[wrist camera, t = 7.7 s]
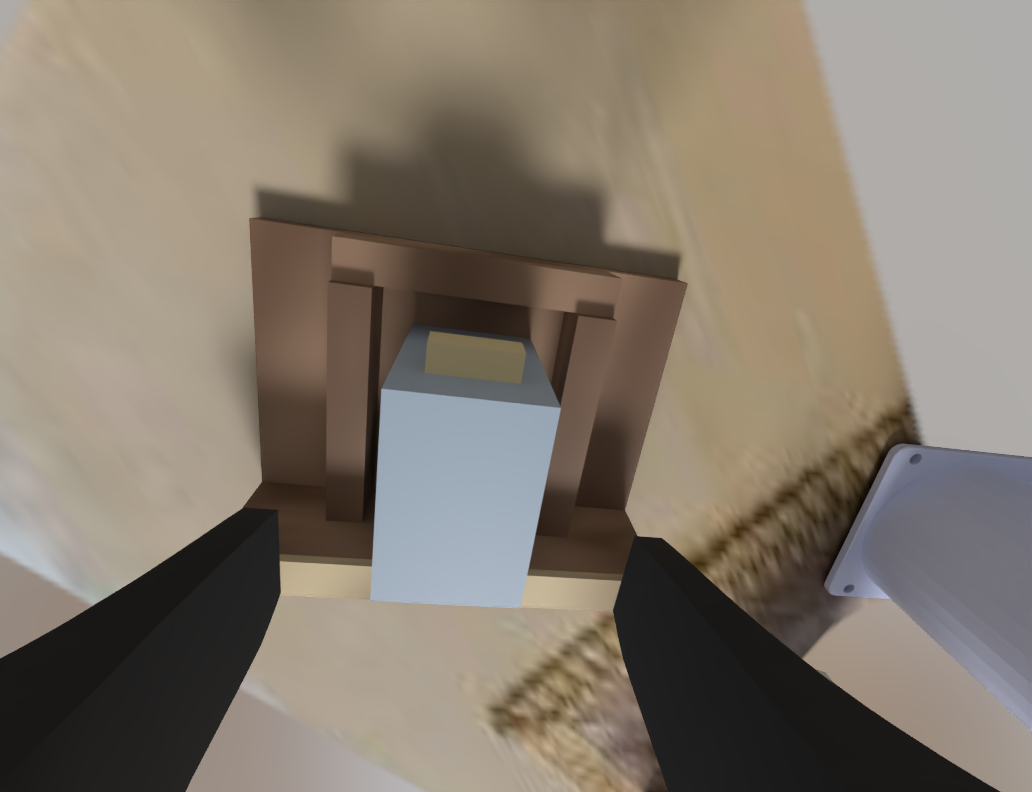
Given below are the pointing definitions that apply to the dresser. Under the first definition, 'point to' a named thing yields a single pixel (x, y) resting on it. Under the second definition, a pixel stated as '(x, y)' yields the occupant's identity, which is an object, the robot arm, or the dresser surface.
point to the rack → (371, 354)
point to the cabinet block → (460, 468)
